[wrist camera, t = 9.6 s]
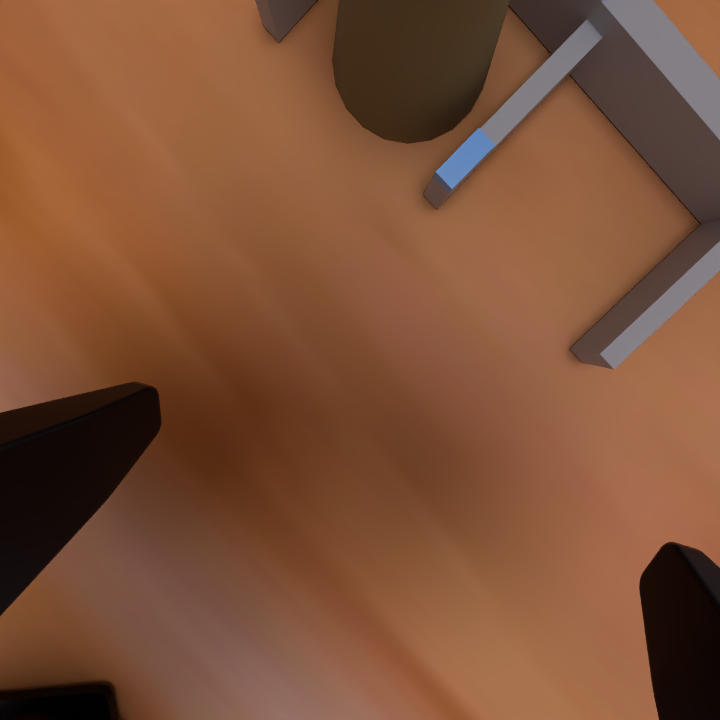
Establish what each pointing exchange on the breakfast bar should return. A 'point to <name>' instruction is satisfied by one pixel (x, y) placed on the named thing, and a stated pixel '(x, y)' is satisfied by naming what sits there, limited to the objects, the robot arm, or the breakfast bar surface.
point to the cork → (414, 62)
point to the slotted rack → (629, 115)
